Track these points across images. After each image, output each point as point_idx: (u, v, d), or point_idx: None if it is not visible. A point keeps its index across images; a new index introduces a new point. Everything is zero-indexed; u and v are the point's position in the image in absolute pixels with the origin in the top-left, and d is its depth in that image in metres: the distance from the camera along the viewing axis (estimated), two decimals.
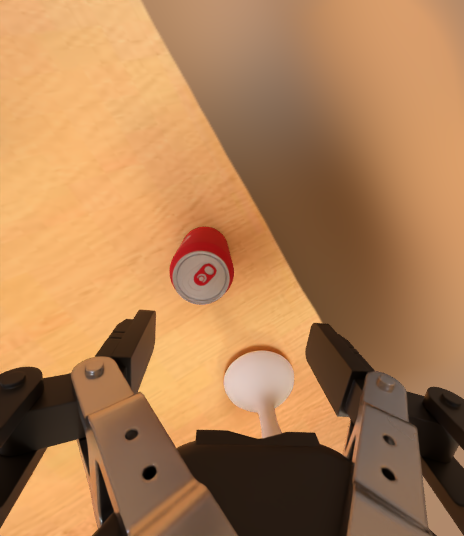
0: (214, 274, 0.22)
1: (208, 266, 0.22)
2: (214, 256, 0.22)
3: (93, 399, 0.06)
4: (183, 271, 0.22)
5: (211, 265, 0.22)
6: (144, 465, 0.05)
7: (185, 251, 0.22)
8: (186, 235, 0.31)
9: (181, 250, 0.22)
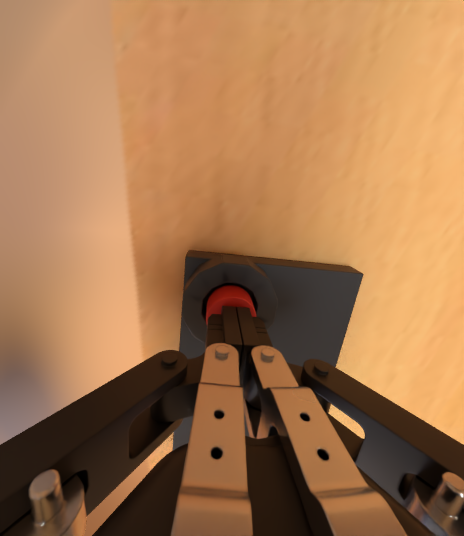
0: None
1: None
2: None
3: (211, 374, 0.08)
4: None
5: None
6: (216, 444, 0.05)
7: None
8: None
9: None
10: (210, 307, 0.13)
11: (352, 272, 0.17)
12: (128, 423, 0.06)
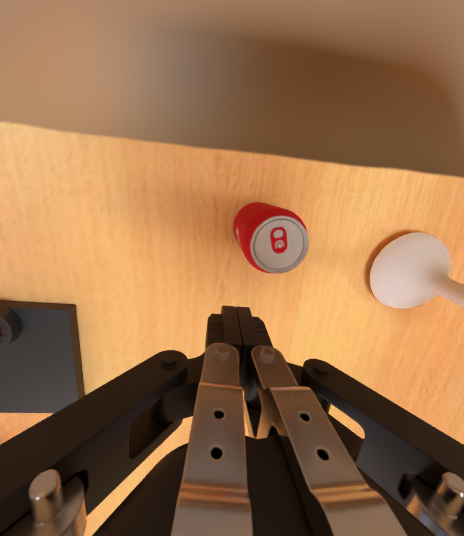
0: (285, 231, 0.21)
1: (274, 231, 0.21)
2: (270, 220, 0.21)
3: (211, 374, 0.08)
4: (262, 255, 0.22)
5: (276, 228, 0.21)
6: (216, 444, 0.05)
7: (247, 240, 0.22)
8: (234, 232, 0.31)
9: (244, 243, 0.22)
10: None
11: (63, 309, 0.33)
12: (128, 423, 0.06)
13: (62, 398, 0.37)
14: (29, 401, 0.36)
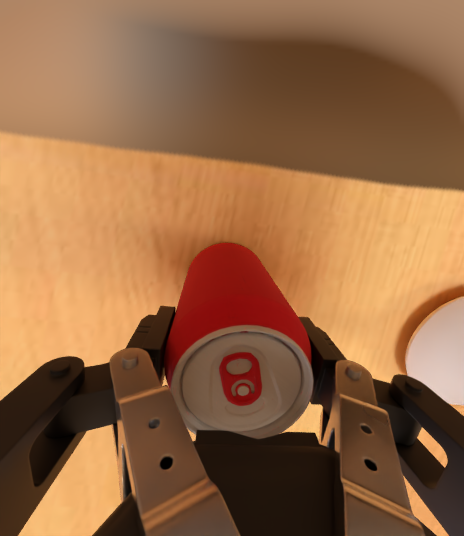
0: (255, 361, 0.08)
1: (228, 362, 0.08)
2: (218, 335, 0.08)
3: (125, 386, 0.07)
4: (201, 408, 0.09)
5: (232, 355, 0.08)
6: (162, 455, 0.05)
7: (168, 372, 0.09)
8: None
9: (165, 370, 0.10)
10: None
11: None
12: (27, 449, 0.05)
13: None
14: None
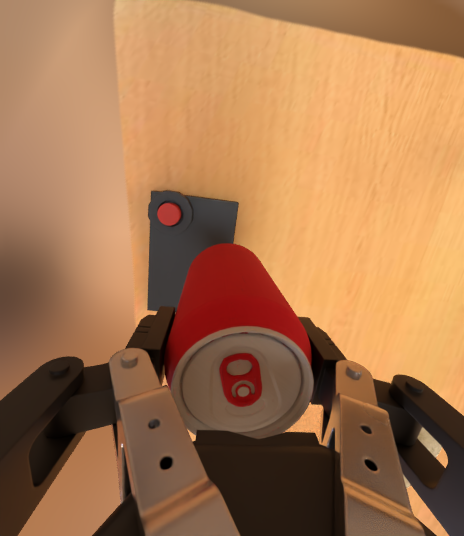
0: (256, 362, 0.08)
1: (228, 363, 0.08)
2: (219, 336, 0.08)
3: (125, 386, 0.07)
4: (201, 409, 0.09)
5: (232, 356, 0.08)
6: (162, 455, 0.05)
7: (169, 373, 0.09)
8: None
9: (165, 371, 0.10)
10: (159, 208, 0.31)
11: (233, 202, 0.34)
12: (26, 449, 0.05)
13: None
14: None
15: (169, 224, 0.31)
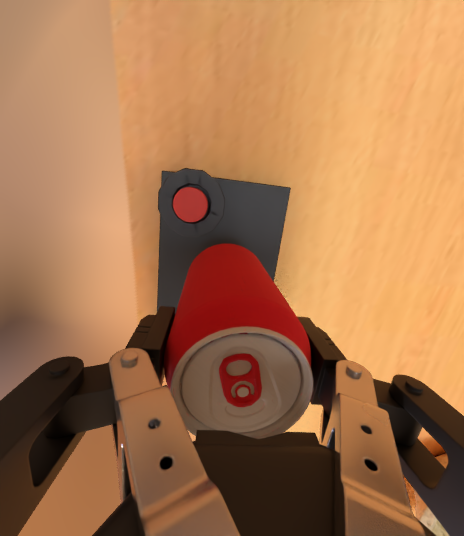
0: (255, 362, 0.08)
1: (228, 363, 0.08)
2: None
3: (125, 386, 0.07)
4: (201, 409, 0.09)
5: (232, 357, 0.08)
6: (162, 455, 0.05)
7: (168, 373, 0.09)
8: None
9: (165, 371, 0.10)
10: (175, 195, 0.20)
11: None
12: (26, 449, 0.05)
13: None
14: None
15: (191, 220, 0.20)
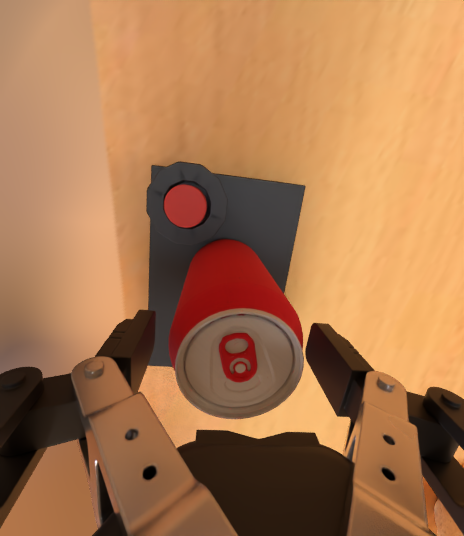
0: (251, 341, 0.09)
1: (227, 341, 0.09)
2: (218, 317, 0.09)
3: (93, 399, 0.06)
4: (203, 384, 0.10)
5: (230, 335, 0.09)
6: (144, 465, 0.05)
7: (173, 352, 0.10)
8: None
9: (170, 351, 0.11)
10: (167, 194, 0.16)
11: (296, 184, 0.19)
12: None
13: None
14: None
15: (186, 225, 0.17)
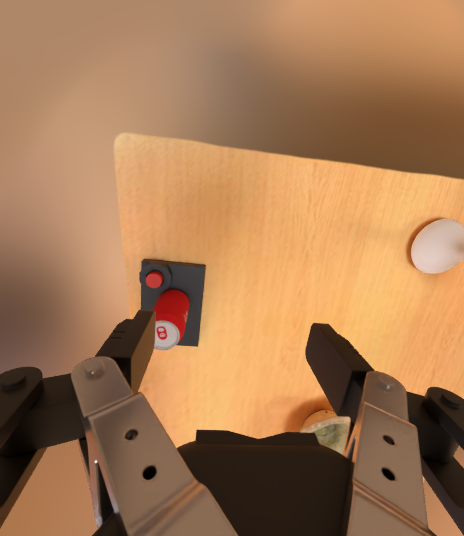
0: (164, 328, 0.37)
1: (158, 328, 0.37)
2: (156, 322, 0.37)
3: (93, 399, 0.06)
4: None
5: (159, 327, 0.37)
6: (144, 465, 0.05)
7: None
8: None
9: None
10: (146, 277, 0.44)
11: (201, 266, 0.47)
12: None
13: (187, 334, 0.51)
14: None
15: (154, 287, 0.44)
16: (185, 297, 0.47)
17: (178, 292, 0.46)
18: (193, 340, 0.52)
